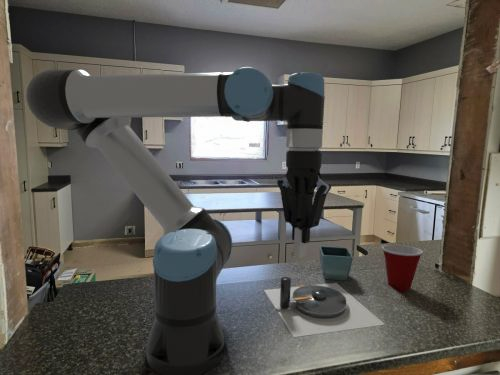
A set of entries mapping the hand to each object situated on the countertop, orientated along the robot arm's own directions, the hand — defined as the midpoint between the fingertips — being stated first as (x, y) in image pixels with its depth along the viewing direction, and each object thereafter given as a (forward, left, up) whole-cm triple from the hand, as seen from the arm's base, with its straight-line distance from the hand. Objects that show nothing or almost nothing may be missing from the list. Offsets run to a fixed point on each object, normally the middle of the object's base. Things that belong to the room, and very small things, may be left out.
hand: (300, 255), depth 73 cm
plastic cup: (+37, +12, -17) cm, 42 cm away
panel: (+8, +5, -16) cm, 19 cm away
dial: (+6, +5, -15) cm, 17 cm away
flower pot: (+21, +21, -17) cm, 34 cm away
